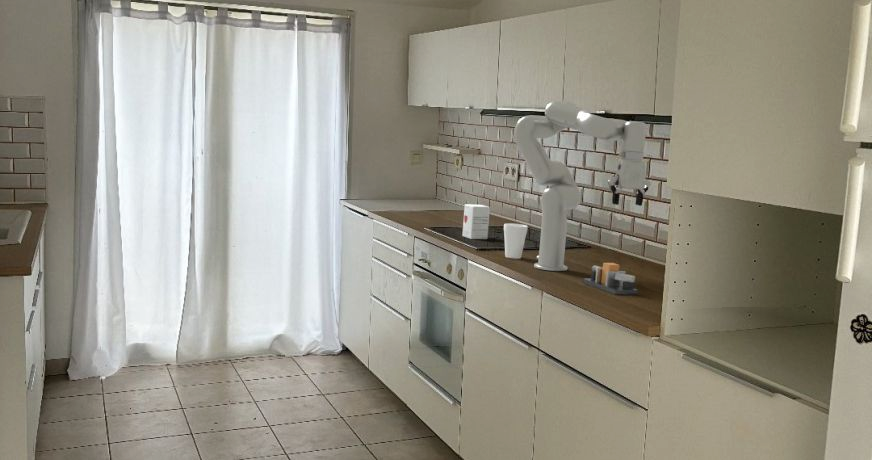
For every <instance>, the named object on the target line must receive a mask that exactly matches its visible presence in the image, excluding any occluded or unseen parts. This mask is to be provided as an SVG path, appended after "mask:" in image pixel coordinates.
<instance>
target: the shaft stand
mask: <svg viewBox="0 0 872 460" xmlns="http://www.w3.org/2000/svg"><path fill="white" fill-rule="evenodd" d="M602 269H603V266H599V265H595V264H594V265H592V267H591V272H590V278H588V277H587V278H586V277H585V278H582V283H583V284H585V285H587V286H590V287H593V288H595V287H596V289H598V288H599V290H601V289H602V290H601V291H603V290H605V291H604V292H606V291H607V293H609V292H610V293H609V294H611V293H612V295H614V294H617V295H618V294H619V295H621V294H623V295H624V296H625V295H638V292H639V291H638V289H637V288H635V279H636V276H635V275H630V274H628V273H627V272H626V271H625V270H624V271H623V270H619V271H607V275H606V284H603V283H601V280H602ZM626 273H627V274H626ZM619 295H618V296H619ZM621 296H622V295H621Z"/></svg>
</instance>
